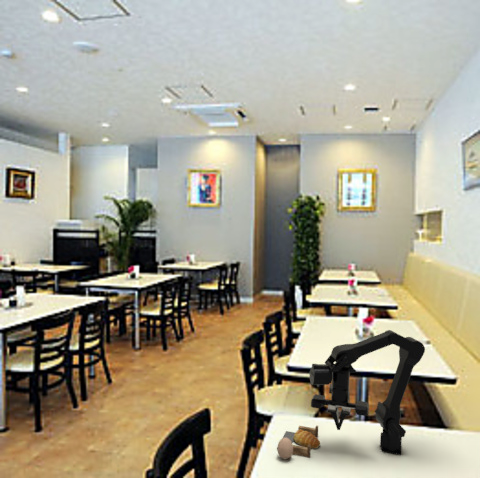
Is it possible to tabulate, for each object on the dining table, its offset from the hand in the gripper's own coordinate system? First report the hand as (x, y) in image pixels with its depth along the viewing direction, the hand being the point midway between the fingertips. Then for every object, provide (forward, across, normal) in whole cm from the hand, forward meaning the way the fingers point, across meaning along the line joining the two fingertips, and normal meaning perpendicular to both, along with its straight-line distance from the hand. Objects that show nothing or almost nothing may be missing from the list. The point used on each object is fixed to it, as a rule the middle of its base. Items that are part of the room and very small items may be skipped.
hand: (338, 429), depth 157 cm
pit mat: (+7, +18, 0) cm, 19 cm away
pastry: (+8, +11, -2) cm, 14 cm away
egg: (+8, +16, +12) cm, 21 cm away
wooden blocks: (+7, +12, 0) cm, 14 cm away
